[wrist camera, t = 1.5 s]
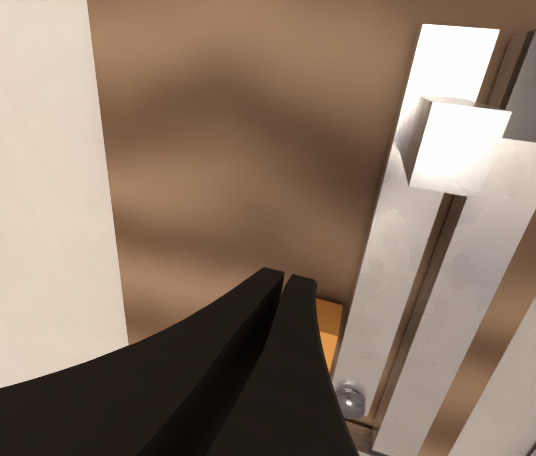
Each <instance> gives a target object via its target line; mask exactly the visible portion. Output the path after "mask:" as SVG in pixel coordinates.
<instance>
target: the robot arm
mask: <svg viewBox="0 0 536 456" xmlns="http://www.w3.org/2000/svg"><path fill="white" fill-rule="evenodd" d="M284 275H285V272H283V271H279V270H275V269H270V268H266V267H263V268H261V269H260V270H258V271H257V272H255V273H254V274H253V275H251V276H250V277H249V278H247V279H246V280H244V281H243V282H242V283H240V284H239V285H237V286H236V287H234V288H233V289H232V290H230V291H229V292H227V293H226V294H224V295H222V296H221V297H219V298H218V299H216V300H215V301H213V302H212V303H210V304H209V305H207V306H205V307H204V308H202V309H200V310H199V311H197V312H195V313H193V314H192V315H190V316H188V317H187V318H185V319H183V320H181V321H180V322H178V323H176V324H174V325H172V326H170V327H168V328H166V329H164V330H162V331H160V332H158V333H156V334H154V335H152V336H149V337H147V338H145V339H143V340H141V341H138V342H136V343H134V344H131V345H129V346H126V347H123V348H121V349H118V350H116V351H113V352H111V353H108V354H106V355H103V356H101V357H98V358H96V359H93V360H90V361H88V362H85V363H82V364H79V365H76V366H73V367H70V368H67V369H64V370H61V371H58V372H55V373H51V374H48V375H45V376H42V377H38V378H35V379H32V380H29V381H25V382H22V383H18V384H15V385H11V386H7V387H3V388H0V456H359V453H358V451H357V449H356V446H355V444H354V442H353V439H352V437H351V435H350V432H349V430H348V427H347V424H346V422H345V419H344V416H343V413H342V411H341V408H340V405H339V402H338V399H337V396H336V393H335V390H334V387H333V384H332V381H331V377H330V374H329V370H328V367H327V363H326V359H325V355H324V351H323V346H322V342H321V337H320V331H319V325H318V318H317V309H316V291H317V285H318V284H317V282H316V281H315V279H311V278H307V277H303V276H299V275H295V274H292V275H291V277H290V278H289V280H288V281H287V283H286V285H285V286H284V289H283V283H284ZM282 290H283V292H282ZM531 456H536V449H535V450H534V452H533V453H532V454H531Z"/></svg>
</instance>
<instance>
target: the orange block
mask: <svg viewBox="0 0 536 456" xmlns="http://www.w3.org/2000/svg"><path fill="white" fill-rule="evenodd" d="M342 308H343V305H340V304H336V303H332V302H328V301H324V300H320V299H317V298H316V309H317V318H318V325H319V331H320V337H321V342H322V346H323V351H324V355H325V359H326V363H327V367H328V370H329V372H330V368H331V364H332V359H333V355H334V351H335V347H336V343H337V339H338V334H339V328H340V321H341V315H342Z"/></svg>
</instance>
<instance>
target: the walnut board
mask: <svg viewBox="0 0 536 456" xmlns="http://www.w3.org/2000/svg"><path fill="white" fill-rule="evenodd" d="M87 5H88V13H89V21H90V29H91V38H92V46H93V54H94V62H95V71H96V79H97V87H98V95H99V104H100V112H101V120H102V128H103V137H104V145H105V153H106V161H107V169H108V178H109V186H110V194H111V202H112V211H113V219H114V227H115V235H116V244H117V252H118V260H119V268H120V277H121V285H122V293H123V301H124V309H125V318H126V326H127V334H128V342H129V345H131V344H134V343H136V342H138V341H141V340H143V339H145V338H147V337H149V336H152V335H154V334H156V333H158V332H160V331H162V330H164V329H166V328H168V327H170V326H172V325H174V324H176V323H178V322H180V321H181V320H183V319H185V318H187V317H188V316H190V315H192V314H193V313H195V312H197V311H199V310H200V309H202V308H204V307H205V306H207V305H209V304H210V303H212V302H213V301H215V300H216V299H218V298H219V297H221V296H222V295H224V294H226V293H227V292H229V291H230V290H232V289H233V288H234V287H236V286H237V285H239V284H240V283H242V282H243V281H244V280H246V279H247V278H249V277H250V276H251V275H253V274H254V273H255V272H257V271H258V270H260V269H261V268H263V267H266V268H270V269H275V270H279V271H283V272H285V275H284V283H283V289H284V286H285V285H286V283H287V281H288V280H289V278H290V277H291V275H292V274H295V275H299V276H303V277H307V278H311V279H315V281H316V282H317V284H318V285H317V291H316V298H317V299H320V300H324V301H328V302H332V303H336V304H340V305H343V308H342V315H341V321H340V328H339V334H338V339H337V343H336V347H335V351H334V355H333V359H332V364H331V368H330V372H329V374H330V377H331V376H332V372H333V368H334V364H335V360H336V356H337V352H338V348H339V344H340V340H341V336H342V332H343V328H344V324H345V320H346V316H347V312H348V308H349V304H350V300H351V296H352V292H353V288H354V284H355V280H356V276H357V272H358V268H359V264H360V260H361V256H362V252H363V248H364V244H365V240H366V236H367V232H368V228H369V224H370V220H371V216H372V212H373V208H374V204H375V200H376V196H377V192H378V188H379V184H380V180H381V176H382V172H383V168H384V164H385V160H386V156H387V152H388V148H389V144H390V140H391V136H392V132H393V128H394V124H395V120H396V116H397V112H398V108H399V104H400V100H401V96H402V92H403V88H404V84H405V80H406V76H407V72H408V68H409V64H410V60H411V56H412V52H413V48H414V44H415V40H416V36H417V32H418V29H419V28H420V27H421V26H422V25H423V24H427V25H441V26H456V27H470V28H485V29H499V30H500V31H499V34H498V37H497V40H496V43H495V46H494V49H493V52H492V54H491V57H490V60H489V63H488V66H487V69H486V72H485V75H484V78H483V81H482V84H481V87H480V89H479V92H478V95H477V98H476V101H475V102H479V103H483V104H486V105H487V103H488V101H489V98H490V95H491V92H492V89H493V87H494V84H495V81H496V78H497V75H498V73H499V70H500V67H501V64H502V62H503V59H504V56H505V53H506V50H507V48H508V45H509V42H510V39H511V37H513V36H516V35H520V34H523V33H527V32H528V31H531V30H535V29H536V0H87ZM454 195H455V194H450V193H444V194H443V197H442V200H441V203H440V206H439V209H438V212H437V215H436V218H435V221H434V224H433V227H432V229H431V232H430V235H429V238H428V241H427V244H426V247H425V250H424V253H423V256H422V259H421V262H420V264H419V267H418V270H417V273H416V276H415V279H414V282H413V285H412V288H411V291H410V294H409V297H408V299H407V302H406V305H405V308H404V311H403V314H402V317H401V320H400V323H399V326H398V329H397V332H396V334H395V337H394V340H393V343H392V346H391V349H390V352H389V355H388V358H387V361H386V364H385V367H384V369H383V372H382V375H381V378H380V381H379V384H378V387H377V390H376V393H375V396H374V399H373V401H372V404H371V407H370V410H369V413H368V416H365V415H363V416H362V417H360V418H358V419H348V418H345V417H344V419H345V421H347V422H350V423H353V424H356V425H359V426H362V427H365V428H368V429H371V430H372V424H373V421H374V418H375V416H376V413H377V410H378V407H379V404H380V402H381V399H382V396H383V393H384V391H385V388H386V385H387V382H388V379H389V377H390V374H391V371H392V368H393V365H394V363H395V360H396V357H397V354H398V351H399V349H400V346H401V343H402V340H403V338H404V335H405V332H406V329H407V326H408V324H409V321H410V318H411V315H412V312H413V310H414V307H415V304H416V301H417V299H418V296H419V293H420V290H421V287H422V285H423V282H424V279H425V276H426V273H427V271H428V268H429V265H430V262H431V259H432V257H433V254H434V251H435V248H436V246H437V243H438V240H439V237H440V234H441V232H442V229H443V226H444V223H445V220H446V218H447V215H448V212H449V209H450V207H451V204H452V201H453V198H454ZM282 292H283V290H282ZM535 296H536V209H535V211H534V213H533V215H532V217H531V219H530V221H529V223H528V226H527V228H526V230H525V232H524V234H523V236H522V238H521V240H520V242H519V244H518V246H517V248H516V250H515V253H514V255H513V257H512V259H511V261H510V263H509V265H508V267H507V269H506V271H505V273H504V275H503V278H502V280H501V282H500V284H499V286H498V288H497V290H496V292H495V294H494V296H493V298H492V300H491V302H490V305H489V307H488V309H487V311H486V313H485V315H484V317H483V319H482V321H481V323H480V325H479V327H478V329H477V332H476V334H475V336H474V338H473V340H472V342H471V344H470V346H469V348H468V350H467V352H466V354H465V357H464V359H463V361H462V363H461V365H460V367H459V369H458V371H457V373H456V375H455V377H454V379H453V381H452V384H451V386H450V388H449V390H448V392H447V394H446V396H445V398H444V400H443V402H442V404H441V406H440V409H439V411H438V413H437V415H436V417H435V419H434V421H433V423H432V425H431V427H430V429H429V431H428V433H427V436H426V438H425V440H424V442H423V444H422V446H421V448H420V450H419V452H418V454H417V456H448V454H449V452H450V451H451V449H452V447H453V445H454V443H455V442H456V440H457V438H458V436H459V434H460V432H461V431H462V429H463V427H464V425H465V423H466V421H467V420H468V418H469V416H470V414H471V412H472V411H473V409H474V407H475V405H476V403H477V401H478V400H479V398H480V396H481V394H482V392H483V391H484V389H485V387H486V385H487V383H488V381H489V380H490V378H491V376H492V374H493V372H494V370H495V369H496V367H497V365H498V363H499V361H500V360H501V358H502V356H503V354H504V352H505V350H506V349H507V347H508V345H509V343H510V341H511V339H512V338H513V336H514V334H515V332H516V330H517V329H518V327H519V325H520V323H521V321H522V319H523V318H524V316H525V314H526V312H527V310H528V309H529V307H530V305H531V303H532V301H533V299H534V298H535Z"/></svg>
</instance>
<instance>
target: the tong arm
mask: <svg viewBox="0 0 536 456" xmlns="http://www.w3.org/2000/svg"><path fill="white" fill-rule="evenodd" d="M499 31H500V30H499V29H485V28H470V27H456V26H441V25H427V24H423V25H422V26H421V27H420V28H419V29H418V32H417V36H416V40H415V44H414V48H413V52H412V56H411V60H410V64H409V68H408V72H407V76H406V80H405V84H404V88H403V92H402V96H401V100H400V104H399V108H398V112H397V116H396V120H395V124H394V128H393V132H392V136H391V140H390V144H389V148H388V152H387V156H386V160H385V164H384V168H383V172H382V176H381V180H380V184H379V188H378V192H377V196H376V200H375V204H374V208H373V212H372V216H371V220H370V224H369V228H368V232H367V236H366V240H365V244H364V248H363V252H362V256H361V260H360V264H359V268H358V272H357V276H356V280H355V284H354V288H353V292H352V296H351V300H350V304H349V308H348V312H347V316H346V320H345V324H344V328H343V332H342V336H341V340H340V344H339V348H338V352H337V356H336V360H335V364H334V368H333V372H332V376H331V381H332V384H333V387H334V390H335V393H336V396H337V399H338V402H339V405H340V408H341V411H342V413H343V416H344V417H345V418H348V419H358V418H360V417H362V416H363V415H365V416H368V413H369V410H370V407H371V404H372V401H373V399H374V396H375V393H376V390H377V387H378V384H379V381H380V378H381V375H382V372H383V369H384V367H385V364H386V361H387V358H388V355H389V352H390V349H391V346H392V343H393V340H394V337H395V334H396V332H397V329H398V326H399V323H400V320H401V317H402V314H403V311H404V308H405V305H406V302H407V299H408V297H409V294H410V291H411V288H412V285H413V282H414V279H415V276H416V273H417V270H418V267H419V264H420V262H421V259H422V256H423V253H424V250H425V247H426V244H427V241H428V238H429V235H430V232H431V229H432V227H433V224H434V221H435V218H436V215H437V212H438V209H439V206H440V203H441V200H442V197H443V194H444V193H450V194H455V195H461V196H467V197H473V198H478V197H479V195H480V192H481V190H482V187H483V185H484V182H485V180H486V177H487V175H488V172H489V169H490V167H491V164H492V162H493V159H494V157H495V154H496V152H497V149H498V147H499V144H500V141H501V139H502V136H503V134H504V131H505V129H506V126H507V124H508V121H509V119H510V116H511V114H512V112H511V111H508V110H504V109H501V108H497V107H493V106H490V105H486V104H483V103H479V102H475V101H476V98H477V95H478V92H479V89H480V87H481V84H482V81H483V78H484V75H485V72H486V69H487V66H488V63H489V60H490V57H491V54H492V52H493V49H494V46H495V43H496V40H497V37H498V34H499Z"/></svg>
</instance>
